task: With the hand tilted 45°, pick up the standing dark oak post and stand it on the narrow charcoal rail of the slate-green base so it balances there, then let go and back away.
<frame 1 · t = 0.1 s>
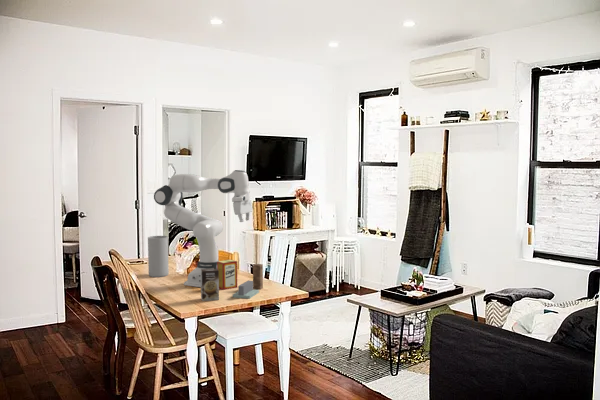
hand: (244, 221, 321), 39 cm above the table, tool pointing down, fingers open, 8 cm apart
oak post: (258, 288, 320), on the table
cylinder vase: (158, 275, 357), on the table
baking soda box: (227, 288, 322), on the table
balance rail: (245, 294, 305), on the table
coffee box: (210, 299, 296), on the table
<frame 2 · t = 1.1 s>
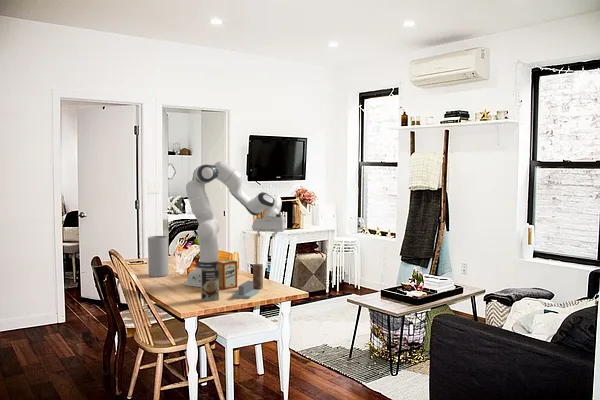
hand: (265, 236, 330), 29 cm above the table, tool tilted 45°, fingers open, 8 cm apart
nothing on the table moved.
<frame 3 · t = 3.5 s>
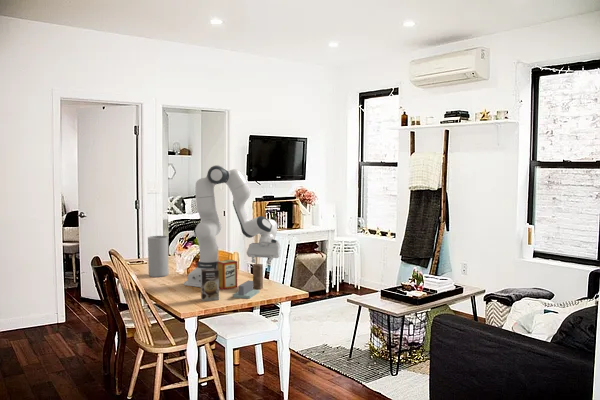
hand: (260, 262, 323), 14 cm above the table, tool tilted 45°, fingers open, 8 cm apart
nothing on the table moved.
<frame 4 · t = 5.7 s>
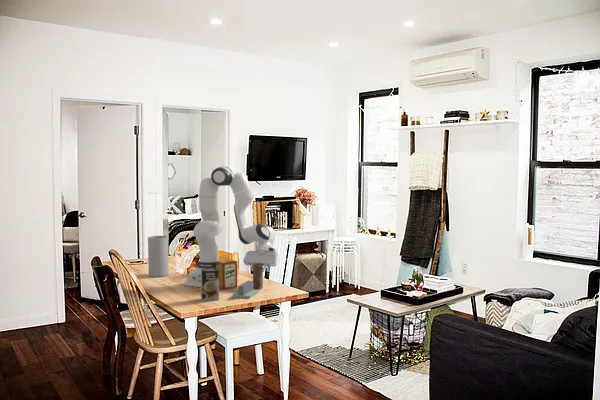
hand: (257, 271, 319), 10 cm above the table, tool tilted 45°, fingers closed on oak post, 4 cm apart
oak post: (258, 288, 320), on the table, touching gripper
everything else where it was.
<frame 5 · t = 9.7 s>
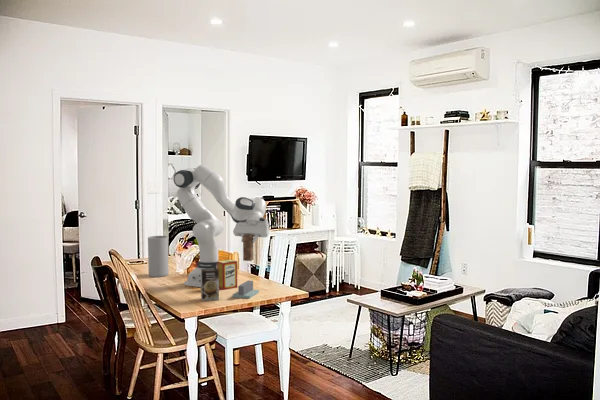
hand: (247, 241, 305), 29 cm above the table, tool tilted 45°, fingers closed on oak post, 4 cm apart
oak post: (248, 260, 306), point 19 cm above the table, touching gripper
everything else where it was.
when the fingers open (18 cm above the table, at t = 13.7 s): oak post stays where it is, resting on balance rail.
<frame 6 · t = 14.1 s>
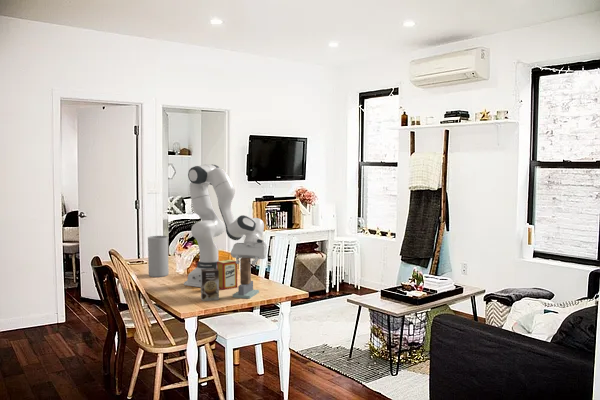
hand: (245, 263, 303), 18 cm above the table, tool tilted 45°, fingers open, 8 cm apart
oak post: (245, 283, 304), point 6 cm above the table, touching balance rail
everything else where it was.
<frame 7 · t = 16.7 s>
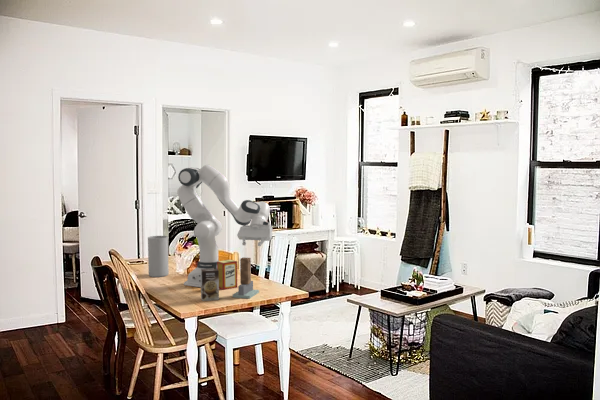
hand: (251, 245, 312), 26 cm above the table, tool tilted 45°, fingers open, 8 cm apart
nothing on the table moved.
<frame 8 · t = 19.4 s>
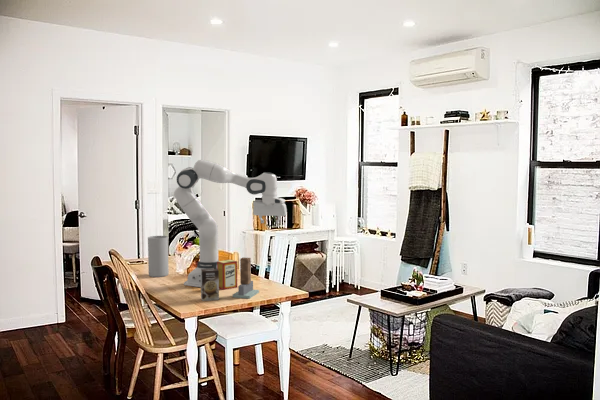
hand: (269, 223, 325), 37 cm above the table, tool pointing down, fingers open, 8 cm apart
nothing on the table moved.
at the end: oak post inside the target area on the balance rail (0.1 cm from its centre), point 6.5 cm above the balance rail's base; oak post tilted 0°; the gripper is holding nothing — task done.
